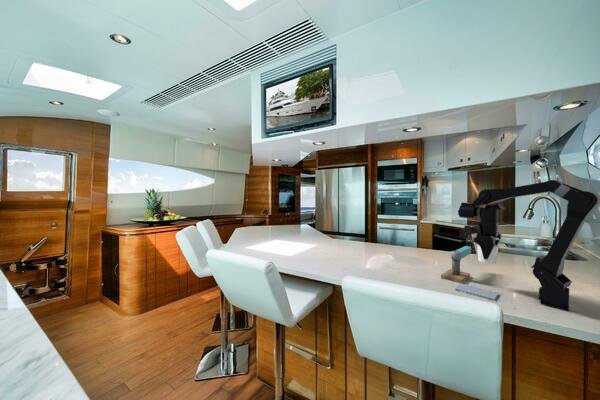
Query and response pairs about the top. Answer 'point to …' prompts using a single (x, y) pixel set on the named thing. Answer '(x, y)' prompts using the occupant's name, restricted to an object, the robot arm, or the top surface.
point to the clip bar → (460, 253)
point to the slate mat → (477, 291)
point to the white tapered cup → (491, 258)
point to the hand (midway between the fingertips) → (487, 257)
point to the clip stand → (455, 273)
